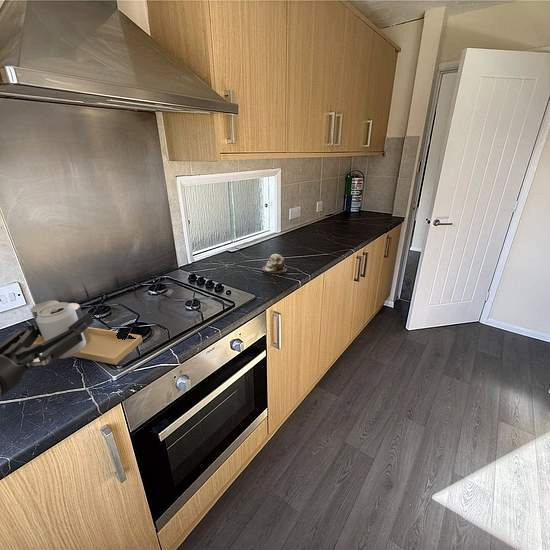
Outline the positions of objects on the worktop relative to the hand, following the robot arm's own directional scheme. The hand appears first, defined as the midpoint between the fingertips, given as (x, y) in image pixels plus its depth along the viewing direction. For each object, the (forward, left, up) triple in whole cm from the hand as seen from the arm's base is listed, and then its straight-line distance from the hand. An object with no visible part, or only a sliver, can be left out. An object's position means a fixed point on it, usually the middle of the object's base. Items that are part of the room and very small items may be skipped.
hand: (75, 317), depth 74 cm
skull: (+29, +79, -17) cm, 86 cm away
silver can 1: (-23, +8, -16) cm, 29 cm away
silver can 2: (-15, +8, -16) cm, 23 cm away
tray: (-11, +8, -17) cm, 22 cm away
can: (+1, -5, -7) cm, 8 cm away
